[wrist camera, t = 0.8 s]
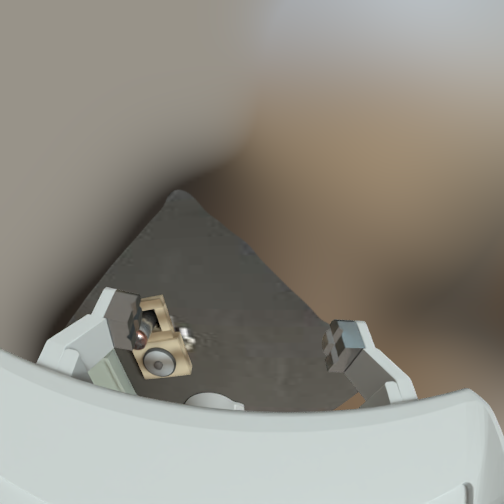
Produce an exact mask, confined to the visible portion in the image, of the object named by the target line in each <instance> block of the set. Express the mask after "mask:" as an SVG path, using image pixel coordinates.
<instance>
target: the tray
mask: <svg viewBox="0 0 504 504" xmlns="http://www.w3.org/2000/svg"><path fill="white" fill-rule="evenodd" d="M88 374H89V376H90V378H91V380H92V382H93V384H95V385H98V386H102V387H105V388H109V389H113V390H116V391H120V392H124V393H129V394H133V395H137V394H136V392H135V391H134V389H133V387H132V385H131V383H130V381H129V379H128V377H127V375H126V373H125V371H124V369H123V367H122V365H121V363H120V361H119V359H118V356H117V354H116V352H115V350H114V349H112V350H111V351H110V352H109V353H108V354H107V355H106V356H105V357H104V358H102V359H101V360H100V361H99V362H98V363H97V364H96V365H95V366H94V367H93V368H92V369H90V370H89V371H88Z"/></svg>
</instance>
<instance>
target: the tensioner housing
mask: <svg viewBox="0 0 504 504" xmlns="http://www.w3.org/2000/svg"><path fill="white" fill-rule="evenodd" d="M139 306H140V307H141V308H142V311H145V310H151V309H154V310H155V312H156V315H157V318H158V321H159V324H160V327H157V328H154V329H153V331H152V333H151V335H150V337H149V339H148V341H147V344H146V346H145V348H144V349H142V350H135V349H133V354H134V356H135V358H136V360H137V363H138V365H139V367H140V369H141V371H142V373H143V375H144V378H145V379H153V378H163V377H173V376H181V375H189V374H191V370H192V364H191V361H190V359H189V356H188V353H187V350H186V348H185V345H184V342H183V339H182V336H181V334H180V332H175V331H174V328H173V325H172V322H171V319H170V316H169V313H168V310H167V307H166V304H165V301H164V298H163V295H158V296H153V297H148V298H142V299H141V302H140V305H139Z"/></svg>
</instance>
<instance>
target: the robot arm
mask: <svg viewBox="0 0 504 504" xmlns="http://www.w3.org/2000/svg"><path fill="white" fill-rule="evenodd" d="M140 302H141V296H140V294H136V293H131V292H127V291H122V290H118V289H113V288H109V287H106V288H105V289H104V290H103V292H102V294H101V296H100V298H99V300H98V302H97V304H96V306H95V308H94V310H93V312H92V314H91V315H89V314H88V315H86V316H84V317H83V318H81V319H80V320H78V321H76V322H75V323H73V324H72V325H70V326H69V327H67V328H66V329H64V330H62V331H61V332H60V333H58V334H56V335H55V336H53V337H52V338H50V339H49V340H47V342H46V344H45V346H44V348H43V350H42V353H41V355H40V357H39V359H38V361H37V363H36V364H35V363H33V362H30V361H28V360H26V359H23V358H21V357H19V356H17V355H15V354H12V353H10V352H8V351H6V350H4V349H2V348H0V504H504V436H503V433H502V431H501V428H500V426H499V423H498V421H497V419H496V417H495V414H494V412H493V411H492V409H491V407H490V406H489V404H488V403H487V402H486V401H485V400H483V399H482V398H481V397H480V396H479V395H478V394H476V393H475V392H473V391H472V390H471V389H469V388H464V389H461V390H457V391H454V392H450V393H446V394H442V395H438V396H433V397H429V398H424V399H419V400H418V398H417V395H416V393H415V390H414V387H413V384H412V382H411V379H410V378H409V377H408V376H407V375H406V374H405V373H404V372H403V371H401V370H400V369H399V368H398V367H397V366H396V365H395V364H394V363H393V362H392V361H391V360H390V359H389V358H388V357H387V356H385V355H384V354H383V353H382V352H381V351H380V350H379V349H375V346H374V343H373V341H372V338H371V335H370V333H369V330H368V328H367V325H366V323H365V322H364V321H351V320H333V321H332V322H331V324H330V328H331V329H329V330H328V331H326V332H325V334H324V336H323V340H322V349H323V352H324V353H325V354H326V355H327V357H326V359H325V362H326V367H327V371H328V372H344V374H345V375H346V376H347V377H348V379H349V380H350V381H351V383H352V384H353V385H354V386H355V388H356V389H357V390H358V391H359V393H360V394H361V395H362V396H363V397H364V399H365V400H366V402H365V403H364V404H363V405H361V407H359V409H350V410H337V411H319V412H261V411H244V405H243V404H241V403H238V402H234V401H232V400H230V399H228V398H227V397H225V396H222V395H219V394H215V393H200V394H196V395H194V396H192V397H190V398H189V399H188V400H187V401H186V403H185V404H180V403H173V402H167V401H162V400H157V399H151V398H147V397H142V396H137V395H133V394H129V393H124V392H120V391H116V390H113V389H109V388H105V387H102V386H98V385H95V384H93V382H92V380H91V378H90V376H89V374H88V371H89V370H90V369H92V368H93V367H94V366H95V365H96V364H97V363H98V362H99V361H100V360H101V359H102V358H104V357H105V356H106V355H107V354H108V353H109V352H110V351H111V350H112V349H114V347H116V348H121V349H126V350H131V351H133V349H134V345H135V342H136V339H137V337H136V332H137V331H138V330H139V329H140V326H141V321H142V308H141V307H140V306H139V305H140Z"/></svg>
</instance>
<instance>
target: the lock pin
mask: <svg viewBox="0 0 504 504" xmlns="http://www.w3.org/2000/svg"><path fill="white" fill-rule="evenodd" d="M157 321H158V318H157V315H156V313H155V312H154V311H153V310H145V311H143V313H142V321H141V326H140V329H139V330H138V331H137V332H136V337H137V339H136V342H135V345H134V349H135V350H142V349H144V348H145V346H146V344H147V341H148V339H149V337H150V335H151V333H152V331H153V329H154V327H155V325H156V323H157Z"/></svg>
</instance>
